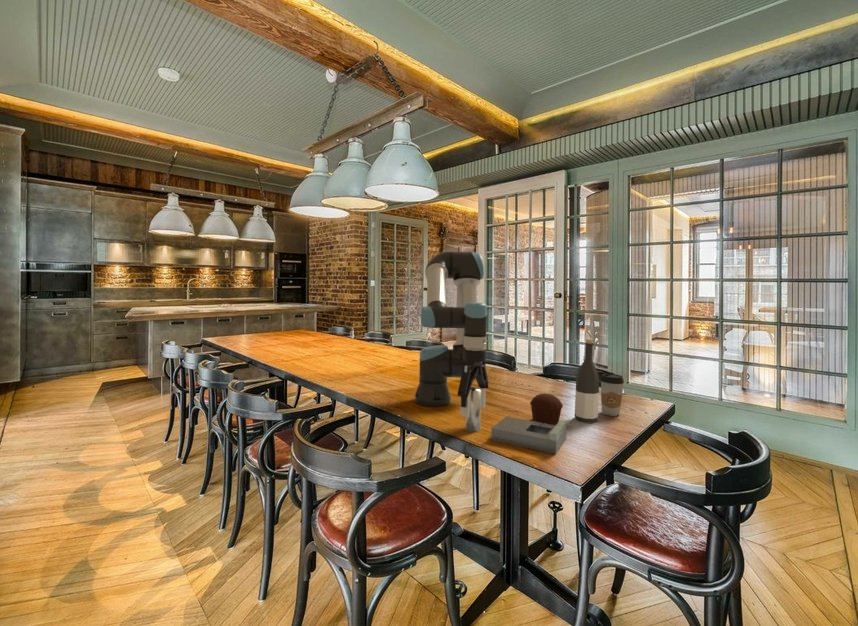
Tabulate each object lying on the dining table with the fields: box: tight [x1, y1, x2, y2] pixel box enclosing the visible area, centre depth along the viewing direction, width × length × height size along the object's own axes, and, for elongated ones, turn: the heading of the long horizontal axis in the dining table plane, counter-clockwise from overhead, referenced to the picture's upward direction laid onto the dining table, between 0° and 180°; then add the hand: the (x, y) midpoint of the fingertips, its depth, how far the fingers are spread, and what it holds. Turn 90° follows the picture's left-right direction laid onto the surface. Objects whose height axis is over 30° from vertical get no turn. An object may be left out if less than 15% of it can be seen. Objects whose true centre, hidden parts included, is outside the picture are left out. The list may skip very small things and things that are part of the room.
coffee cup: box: [600, 373, 625, 417], centre depth 160 cm, size 8×8×15 cm
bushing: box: [464, 386, 482, 433], centre depth 139 cm, size 5×5×14 cm
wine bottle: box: [574, 338, 600, 424], centre depth 151 cm, size 8×8×30 cm
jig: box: [490, 416, 568, 455], centre depth 130 cm, size 20×14×6 cm
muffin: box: [529, 393, 564, 425], centre depth 148 cm, size 12×11×10 cm
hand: (473, 411), depth 139 cm, fingers open, 13 cm apart
